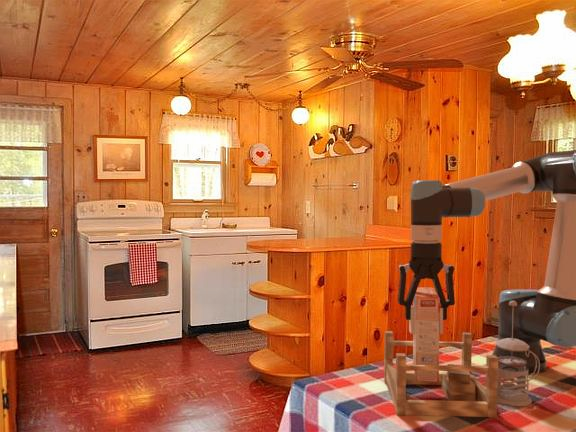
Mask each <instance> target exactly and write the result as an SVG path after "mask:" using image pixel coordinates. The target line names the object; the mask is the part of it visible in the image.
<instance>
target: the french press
mask: <svg viewBox="0 0 576 432" xmlns="http://www.w3.org/2000/svg"><path fill="white" fill-rule="evenodd" d="M509 305H511V306H517V303H516V301H510V302H509ZM497 340H498V339H497ZM494 345H495V346H497V347H498V348H501V349H504V350H509V351H525V355H526V356H528V357H529V353H532V354H533V355H534V357H535V356H536V355H535V354H534V353H533V352H531V351H530V350H528V349H529V348H530V346H529V345H528V344H526V343H525V342H523V341H521V340H518V339H515V338H513V314H512V338H505V339H501V340H498V341H495V342H494ZM526 351H530V352H528V355H527V354H526ZM536 357H537V356H536ZM536 357H535V360H536ZM537 359H538V357H537ZM538 362H539V368H538V372H537V373H535V371H536V368H537V360H536V367H535V370H534V372H533V373H530V375H529V373H528V368H527V371H526V366H525V365H526V364H527V362H526V360H524V359H521V358H516V357H512V356H511V357H509V356H500V357H498V389H497V403H500V404H503V405H506V406H513V407H526V406H529V405H532V403H533V401H532V399H531V398H530V396H529V384H530V383H529V382H530V381H531V380H533V379H535V378H536V377H537V376H538V375H539V374H540V373H539V370H540V361H539V359H538ZM505 366H512V367H515V368H517V369H518V371H516V370H514V369H511V368H507V369H501V368H503V367H505ZM534 374H536V375H534ZM533 375H534V376H533ZM532 376H533V377H532ZM530 377H531V378H530Z"/></svg>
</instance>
